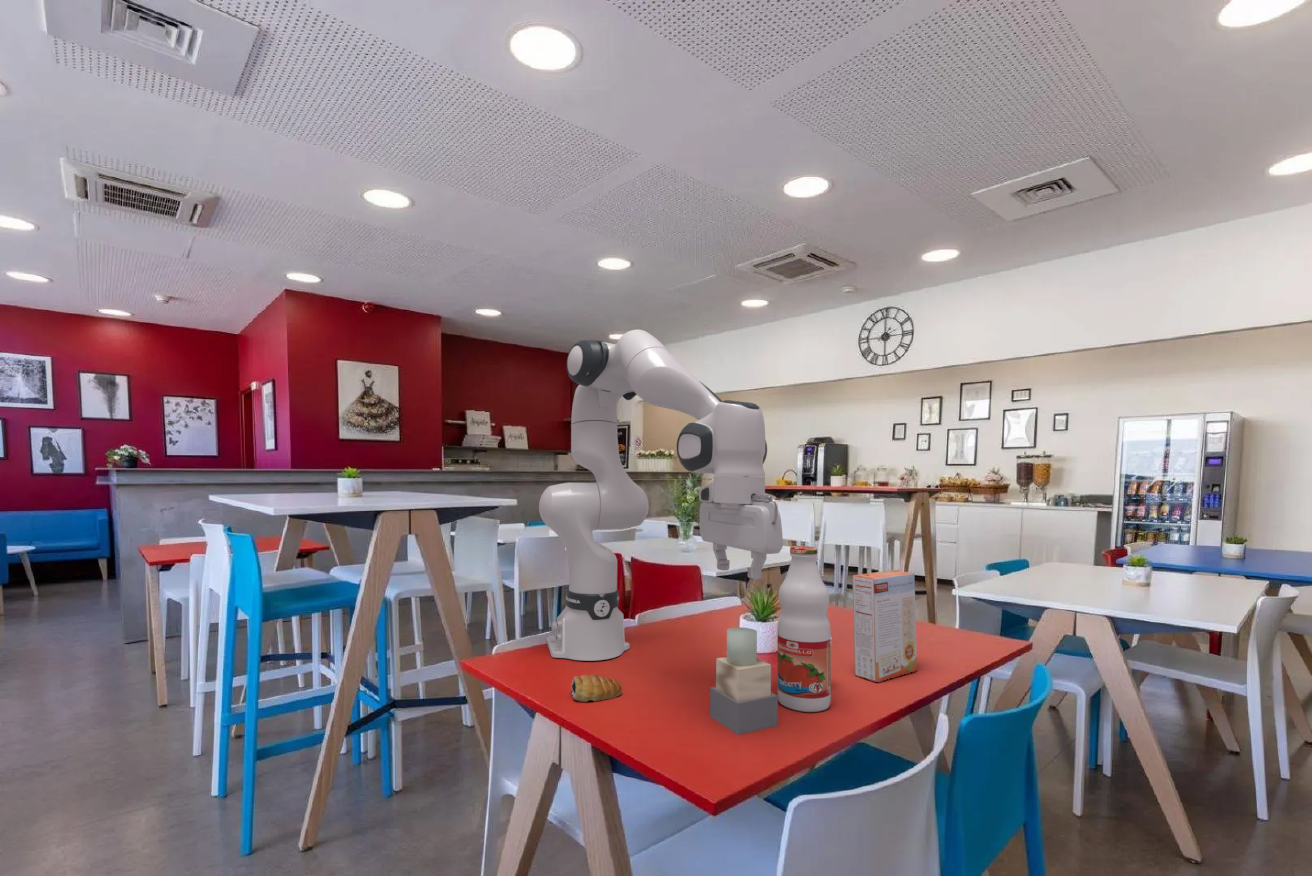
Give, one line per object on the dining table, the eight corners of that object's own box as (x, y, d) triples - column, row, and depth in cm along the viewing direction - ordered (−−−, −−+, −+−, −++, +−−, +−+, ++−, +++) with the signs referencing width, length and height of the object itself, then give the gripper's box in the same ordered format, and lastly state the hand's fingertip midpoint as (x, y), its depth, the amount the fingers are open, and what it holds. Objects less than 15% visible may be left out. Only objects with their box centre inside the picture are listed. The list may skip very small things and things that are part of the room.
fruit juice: (840, 703, 108) (839, 547, 110) (813, 718, 102) (812, 551, 104) (795, 690, 115) (795, 543, 117) (767, 702, 108) (767, 546, 110)
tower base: (710, 717, 102) (710, 687, 102) (748, 710, 105) (748, 681, 106) (737, 736, 94) (737, 703, 95) (777, 727, 98) (777, 695, 98)
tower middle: (716, 688, 101) (716, 658, 102) (747, 683, 104) (747, 654, 105) (737, 701, 96) (738, 669, 96) (770, 695, 99) (770, 664, 99)
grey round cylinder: (721, 658, 102) (721, 628, 102) (746, 655, 104) (746, 626, 104) (736, 667, 97) (736, 636, 97) (762, 664, 99) (762, 633, 99)
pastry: (617, 688, 115) (617, 667, 116) (626, 700, 109) (626, 679, 109) (568, 692, 113) (569, 671, 113) (574, 705, 106) (575, 683, 106)
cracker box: (893, 664, 132) (892, 569, 133) (918, 672, 127) (916, 572, 128) (851, 675, 124) (851, 573, 126) (876, 684, 119) (875, 577, 121)
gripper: (792, 495, 95) (792, 583, 95) (722, 491, 114) (721, 564, 113) (760, 495, 93) (759, 586, 92) (693, 491, 111) (692, 566, 110)
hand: (738, 574), depth 103 cm, fingers open, 8 cm apart
